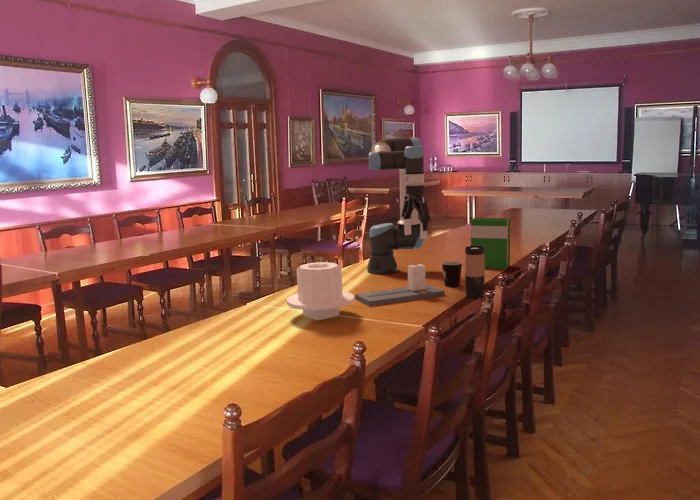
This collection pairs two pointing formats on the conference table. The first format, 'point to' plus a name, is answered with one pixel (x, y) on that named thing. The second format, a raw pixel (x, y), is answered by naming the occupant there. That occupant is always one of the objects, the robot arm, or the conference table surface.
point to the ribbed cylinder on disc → (320, 291)
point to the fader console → (397, 295)
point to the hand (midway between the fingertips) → (415, 236)
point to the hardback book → (492, 240)
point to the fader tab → (416, 277)
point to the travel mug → (474, 271)
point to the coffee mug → (452, 273)
